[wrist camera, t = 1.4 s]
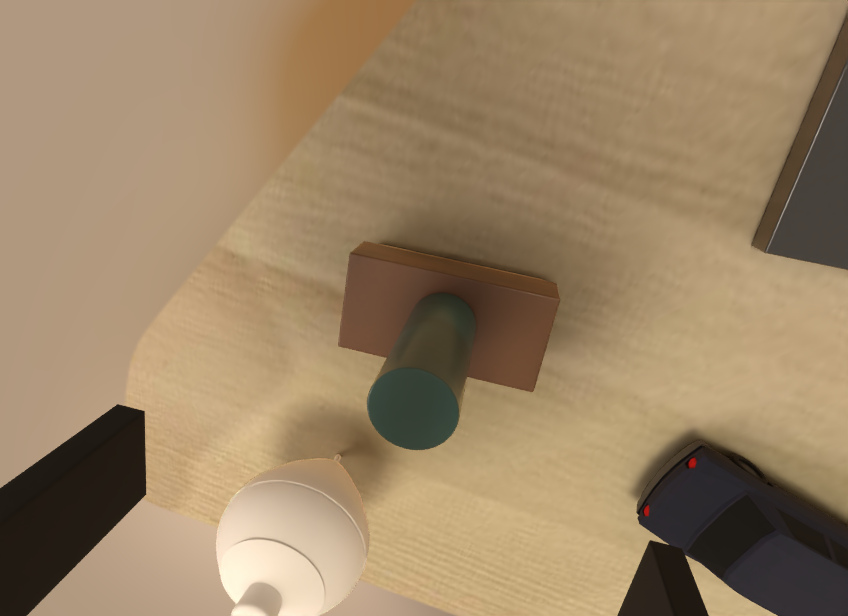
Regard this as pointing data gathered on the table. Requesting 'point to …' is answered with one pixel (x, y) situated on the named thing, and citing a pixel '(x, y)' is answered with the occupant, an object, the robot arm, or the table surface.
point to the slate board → (815, 177)
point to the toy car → (749, 532)
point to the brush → (440, 335)
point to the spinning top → (293, 540)
